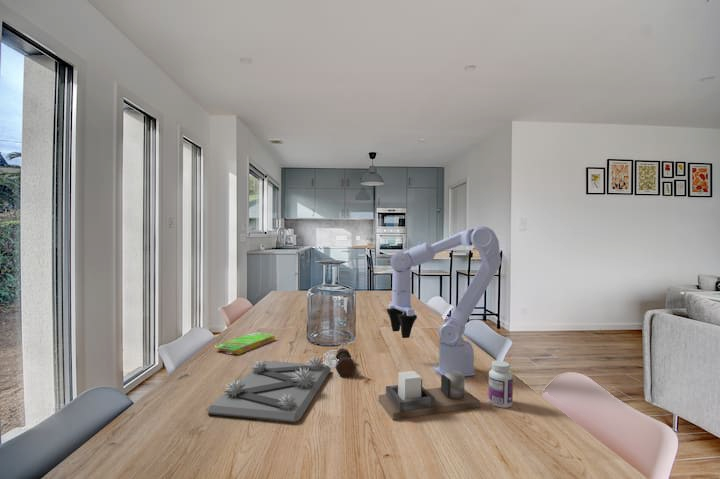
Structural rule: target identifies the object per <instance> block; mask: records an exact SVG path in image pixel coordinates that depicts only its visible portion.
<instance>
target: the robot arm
mask: <svg viewBox="0 0 720 479" xmlns="http://www.w3.org/2000/svg"><path fill="white" fill-rule="evenodd" d="M499 242H500V241H499V239H498V237H497V235H496V233H495V231H494V230H493V229H491V228H490V227H488V226H485V225H484V226H478V227H476V228H475V229H474V228H471V229H466V230H463V231H459V232H457V233H455V234H453V235H451V236H448V237H445V238H443V239H441V240H439V241H436V242H434V243H429V242H428V241H424V242H423V241H420V242H417V245H414V246H412V247H410V248H407V247H405V248H404V249H403V251H397V252H396V253H394V254H393V255H392V256H391V257H390V261H389V262H390V266H391V267H392V278H391V279H392V280H391V281H392V282H391V284H392V287H391V300H389V304H388V308H386V312H387V315H388V318H389V320H390V324H391V330H392V332H393V333H394V332H401V338H402V339H409V338H410V336H411V332H412V329H413V326H414V324H415V322H416V320H417V318H418V314H417V315H416V314H415V309H414V308H413V306H412V304H411V297H412V296H411V295H412V294H411V291H412V290H411V286H412V283H411V282H412V276H411V269H412V267H416V266H420V265H423V264H425V263H427V262H430V261H433V260H434V259H435V256H436V255H437V254H439V253H443V252H444V251H445V252H446V251H448V250H450V249H453V248H456V247H458V246H467V247H470V246H473V247H474V249H475V250H476V251H477V252H478V255H479V258H480V260H481V264H480V266H479V268H478V269H477V271H476V273H475V274H474V276H473V278H472V280H470V284H469V285H468V287H467V288H466V290H465V292H464V294H463V295H462V297H461V299H460V300H459V302H458V304H457V305H456V307H455V308H454V310H453V312H452V313H451V315H450V316H449V317H447V318H446V319H445V320H444V322H443V323H442V324H441V326H440V327H439V329H438V335H439V342H438V343H439V345H438V346H439V348H438V349H439V350H438V352H439V353H438V360H439V361H438V366H433V367H432V368H433V370H434V371H436V372H437V373H438V374H440V375H445V373H446V372H447V371H451V370H453V371H459V372H462V373H464V375H465V377H471V376H472V377H473V376H475V375H476V372H474V365H475V364H474V363H475V362H474V360H475V353H474V348H473V345H472V344H471V343H470V341H468V340H467V341H466V340H465V339H464V338H463V336H462V335H463V334H464V333H465V330H466V329H465V328H466V323H467V322H468V320H469V318H470V316H471V315H472V314H473V312H474V310H475V308H476V307H477V305H478V304H479V301H480V300H481V298H482V296H483V295H484V293H486V290H487V288H488V286H489V285H490V284H491V281H492V280H493V278H494V277H495V275H496V273H497V272H498V269H499V268H500V267H501V264H502V260H501V251H500V243H499ZM400 330H401V331H400Z"/></svg>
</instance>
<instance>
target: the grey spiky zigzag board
mask: <svg viewBox="0 0 720 479" xmlns="http://www.w3.org/2000/svg"><path fill="white" fill-rule="evenodd" d="M306 362H307V363H302V362H301V363H300V362H290V361H289V362H287V361H275V360H259V359H257V360H256V361H255V362H254V363H252V365H253V366H252V367H251V371H250V372H249V373H247V374H246V375H245V376H243V378H241V379H238V380H237V381H236V379H231V382H228V381H227V383H228V384H225V386H226V388H223V391H224V393H223V394H222V395H221V396H220V397H219V398H217V399H216V400H214V402H213V403H211V404H210V405H209V406H208V407H207V408H206V411H207V413H208V414H209V415H213V416H223V417H233V418H241V419H242V418H244V419H254V420H263V421H271V422H272V421H273V422H274V421H275V422H283V423H284V422H285V423H294V424H295V423H297V422H299V421H300V420H301V419H302V417H303V415H304V414H305V412H306V410H307V408H308V407H309V406H310V404H311V402H312V400H313V399H314V398H315V396H316V394H317V392H318V391H319V390H320V388H321V386H322V385H323V383H324V382H325V380H326V378H327V376H328V375H329V373H330V371H331V370H332V368H331V367H330V366H329V365H327V364H325V363H324V364H323V362H324V360H323V358H320V355H318V356H317V357H314V356H313V355H311V358H308V360H306Z"/></svg>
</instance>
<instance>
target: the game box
mask: <svg viewBox="0 0 720 479" xmlns="http://www.w3.org/2000/svg"><path fill="white" fill-rule="evenodd" d="M275 337H276V336H275V335H274V334H269V333H264V332H256V331H255V332H253V333H249V334H246V335H243V336H240V337H236V338H234V339H231V340H227V341H225V342H222V343H219V344H216V345H214V347H215V348H217V351H220V352H226V353H230V354H233V355H234V354H236V355H240V354H243V353H246V352H248V351H251V350H253V349H255V348H256V349H257V348H258V347H260V346H263V345H266V344H268V343H269V344H270V343H271V342H273V341H275V339H276V338H275Z"/></svg>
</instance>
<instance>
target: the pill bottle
mask: <svg viewBox="0 0 720 479" xmlns="http://www.w3.org/2000/svg"><path fill="white" fill-rule="evenodd" d="M510 367H511V366H510V363H509V362H507V361H504V360H493V361H492V362H491V369H490V370H489V372H488V403H490V404H491V405H492V406H494V407H498V408H503V409H507V408H510V407H512V406H513V399H514V398H513V397H514V396H513V388H514V387H513V384H514V382H513V381H514V380H513V378H514V377H513V373H511V372H510V369H511V368H510Z"/></svg>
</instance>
